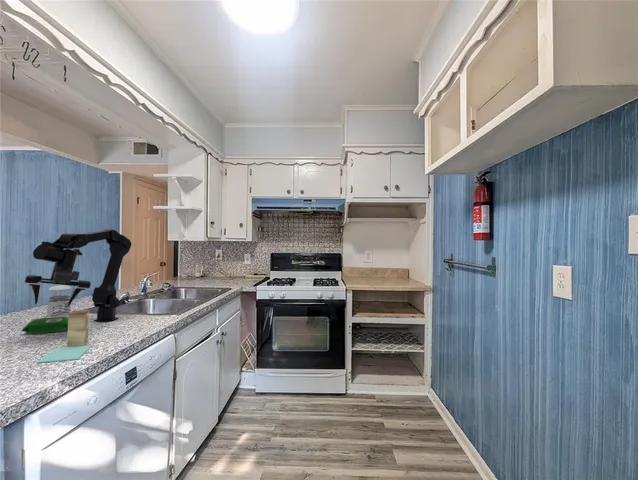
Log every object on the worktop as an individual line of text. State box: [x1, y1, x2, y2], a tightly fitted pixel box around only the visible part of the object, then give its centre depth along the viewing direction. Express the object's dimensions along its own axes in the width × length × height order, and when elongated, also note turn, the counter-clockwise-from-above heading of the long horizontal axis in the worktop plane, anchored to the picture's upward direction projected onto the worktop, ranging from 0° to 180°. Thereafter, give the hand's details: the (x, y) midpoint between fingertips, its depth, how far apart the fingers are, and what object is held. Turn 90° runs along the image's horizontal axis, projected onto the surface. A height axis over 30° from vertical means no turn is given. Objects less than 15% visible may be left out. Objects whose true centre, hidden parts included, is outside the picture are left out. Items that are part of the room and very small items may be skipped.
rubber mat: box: [36, 344, 93, 364], centre depth 93 cm, size 12×10×1 cm
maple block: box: [66, 309, 90, 347], centre depth 101 cm, size 4×4×12 cm
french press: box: [45, 284, 79, 318], centre depth 133 cm, size 10×12×25 cm
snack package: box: [21, 317, 68, 335], centre depth 114 cm, size 7×16×5 cm, turn 117°
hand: (52, 305), depth 107 cm, fingers open, 9 cm apart
